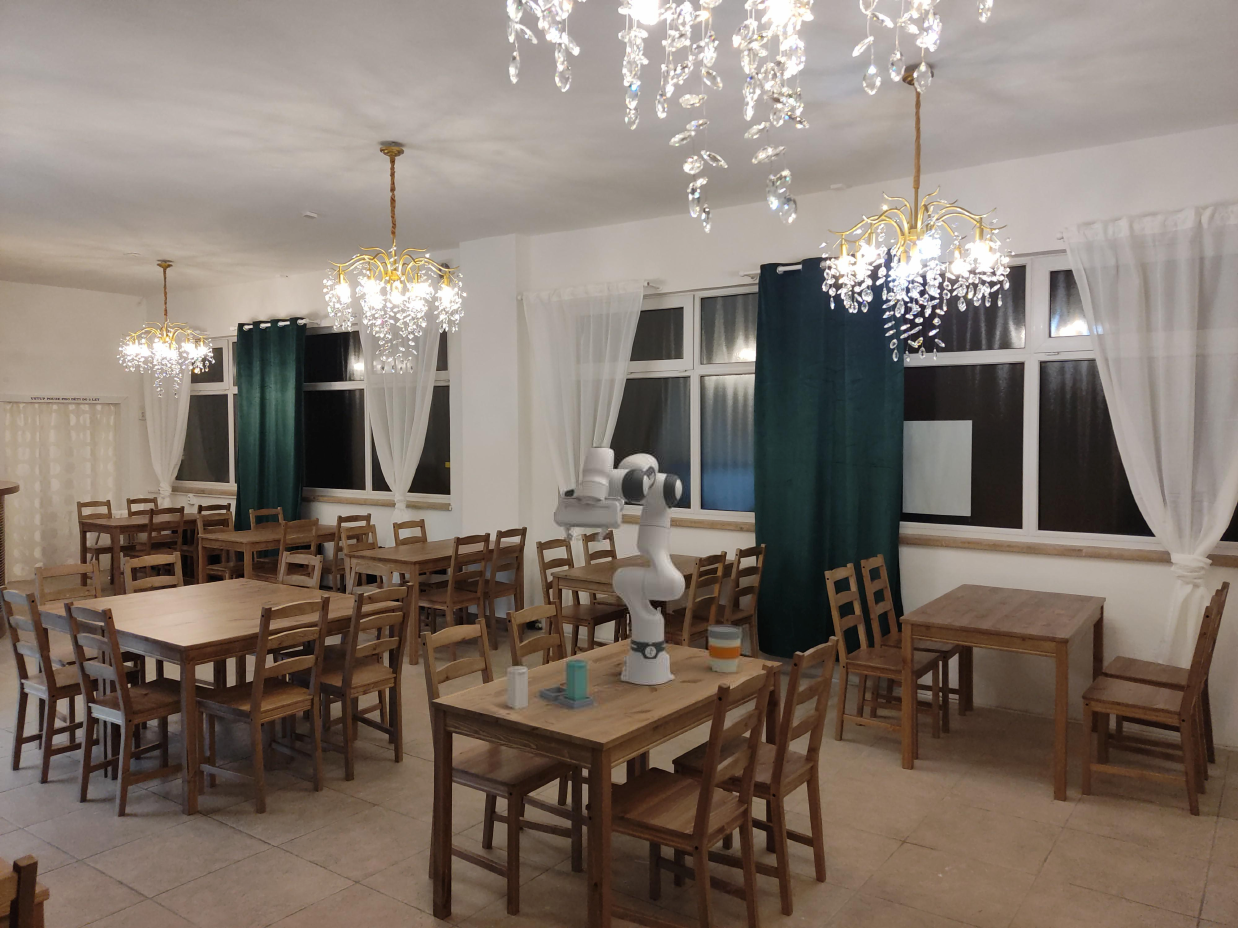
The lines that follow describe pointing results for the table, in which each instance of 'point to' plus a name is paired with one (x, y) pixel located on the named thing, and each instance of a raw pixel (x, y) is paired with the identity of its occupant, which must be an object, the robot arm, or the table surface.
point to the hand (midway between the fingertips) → (583, 540)
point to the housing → (564, 698)
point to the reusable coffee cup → (724, 647)
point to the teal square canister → (576, 680)
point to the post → (517, 687)
